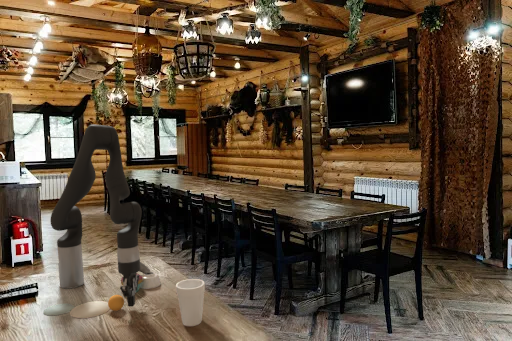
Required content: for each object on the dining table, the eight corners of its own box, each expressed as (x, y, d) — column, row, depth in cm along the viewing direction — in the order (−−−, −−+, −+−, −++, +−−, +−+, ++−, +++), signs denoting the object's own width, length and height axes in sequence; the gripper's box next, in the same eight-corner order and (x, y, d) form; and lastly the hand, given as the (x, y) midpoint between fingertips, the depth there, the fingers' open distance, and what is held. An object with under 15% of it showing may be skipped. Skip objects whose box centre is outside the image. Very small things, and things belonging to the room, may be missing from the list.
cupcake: (136, 295, 163) (135, 265, 162) (117, 294, 164) (115, 264, 163) (146, 287, 171) (145, 258, 170) (127, 286, 173) (126, 258, 172)
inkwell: (151, 290, 168) (150, 266, 167) (116, 284, 175) (115, 261, 174) (165, 282, 176) (164, 259, 175) (131, 277, 184) (130, 255, 183)
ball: (128, 301, 149) (122, 314, 149) (124, 292, 153) (118, 305, 154) (113, 300, 145) (108, 313, 146) (109, 291, 150) (103, 304, 150)
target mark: (61, 312, 149) (61, 311, 149) (96, 298, 161) (96, 298, 161) (84, 321, 141) (84, 321, 141) (119, 306, 153) (119, 306, 153)
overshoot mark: (38, 311, 151) (38, 311, 151) (64, 301, 159) (64, 301, 159) (52, 318, 145) (52, 317, 145) (79, 307, 153) (79, 307, 153)
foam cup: (182, 331, 132) (180, 291, 131) (174, 319, 141) (172, 282, 139) (210, 323, 137) (208, 285, 136) (200, 313, 145) (199, 277, 144)
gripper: (132, 264, 141) (135, 313, 143) (145, 252, 155) (147, 298, 156) (110, 264, 142) (113, 313, 144) (125, 253, 155) (128, 298, 157)
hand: (131, 305), depth 150 cm, fingers closed
